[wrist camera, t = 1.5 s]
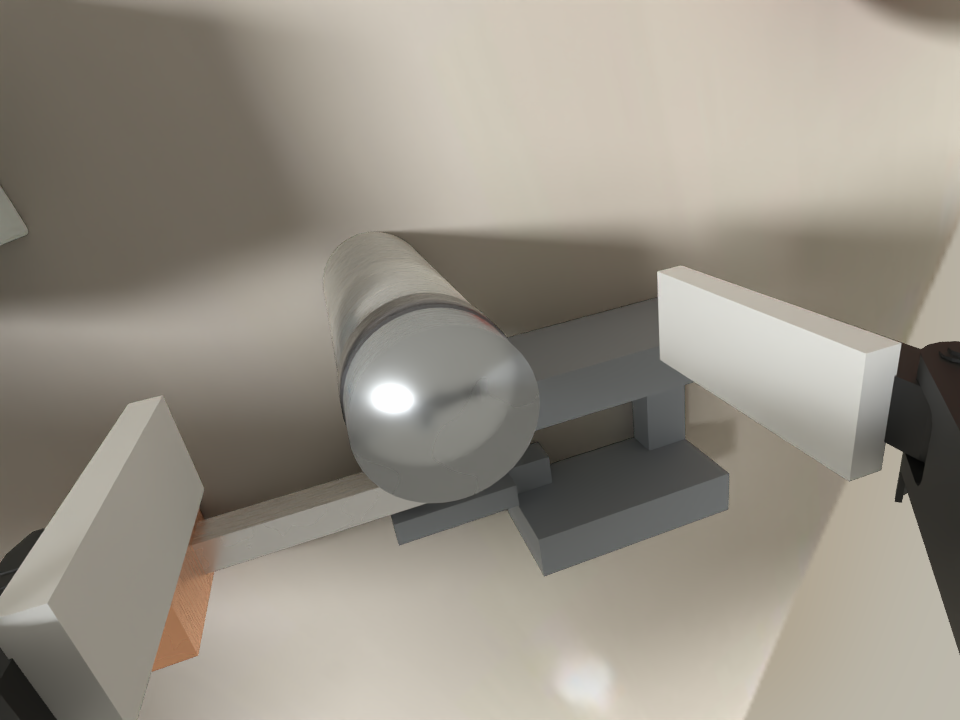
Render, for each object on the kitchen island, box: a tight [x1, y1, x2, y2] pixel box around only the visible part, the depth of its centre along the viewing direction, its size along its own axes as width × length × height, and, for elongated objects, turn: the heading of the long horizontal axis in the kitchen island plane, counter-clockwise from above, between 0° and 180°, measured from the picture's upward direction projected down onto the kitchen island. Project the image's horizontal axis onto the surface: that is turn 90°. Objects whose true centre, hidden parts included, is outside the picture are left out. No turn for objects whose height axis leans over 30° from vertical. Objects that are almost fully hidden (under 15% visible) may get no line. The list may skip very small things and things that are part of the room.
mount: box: [391, 297, 729, 576], centre depth 27 cm, size 16×10×5 cm, turn 99°
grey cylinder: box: [323, 232, 540, 503], centre depth 18 cm, size 4×4×13 cm
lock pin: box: [151, 472, 426, 672], centre depth 24 cm, size 13×3×6 cm, turn 99°
